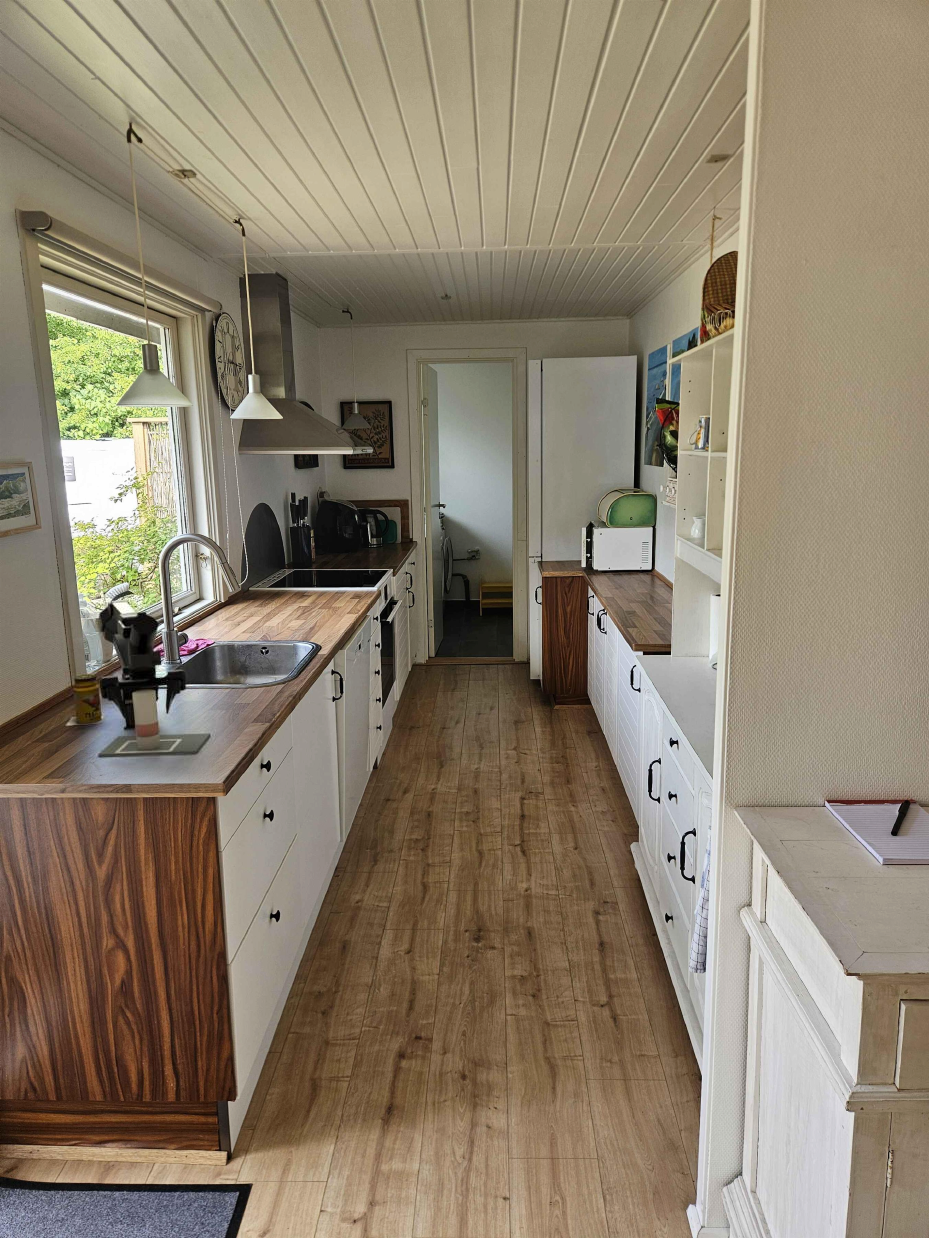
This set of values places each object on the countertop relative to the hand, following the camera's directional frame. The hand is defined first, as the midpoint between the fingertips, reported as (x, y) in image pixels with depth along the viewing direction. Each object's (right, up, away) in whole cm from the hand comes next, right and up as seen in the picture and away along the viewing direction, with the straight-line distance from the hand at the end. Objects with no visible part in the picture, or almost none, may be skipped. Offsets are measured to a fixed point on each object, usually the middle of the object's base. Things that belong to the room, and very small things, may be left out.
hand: (146, 715), depth 192 cm
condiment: (-26, -5, +26) cm, 37 cm away
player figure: (0, -8, +3) cm, 8 cm away
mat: (+1, -8, +5) cm, 9 cm away
